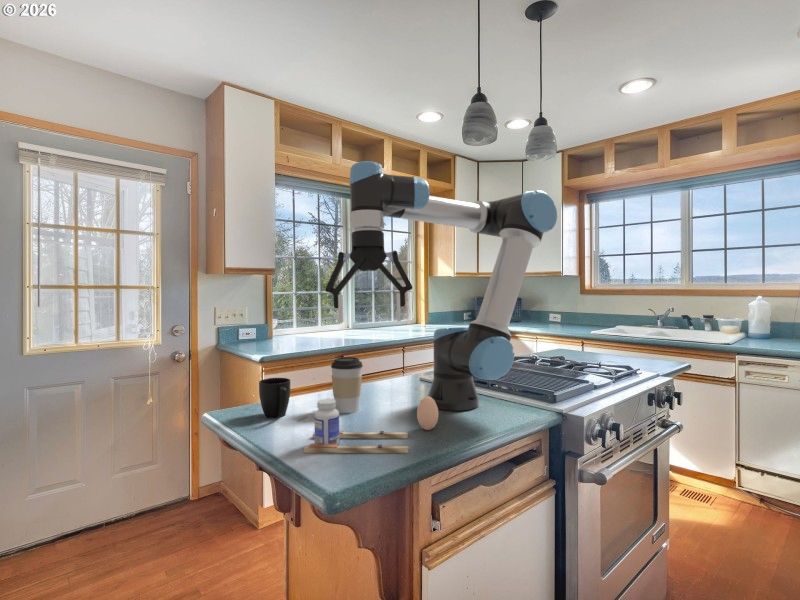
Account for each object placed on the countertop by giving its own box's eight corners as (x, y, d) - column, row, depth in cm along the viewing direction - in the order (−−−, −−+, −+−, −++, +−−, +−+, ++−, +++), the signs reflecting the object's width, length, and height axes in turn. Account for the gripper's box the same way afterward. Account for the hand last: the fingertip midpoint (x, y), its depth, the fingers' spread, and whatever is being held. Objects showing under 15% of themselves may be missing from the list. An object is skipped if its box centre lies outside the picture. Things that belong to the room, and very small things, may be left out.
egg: (412, 428, 106) (412, 395, 105) (428, 424, 109) (428, 392, 109) (426, 434, 101) (426, 400, 101) (442, 430, 105) (442, 396, 104)
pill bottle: (339, 439, 98) (339, 397, 98) (339, 448, 93) (338, 403, 93) (315, 440, 98) (315, 398, 97) (313, 449, 92) (313, 404, 92)
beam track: (407, 436, 100) (407, 431, 100) (408, 452, 90) (408, 446, 90) (313, 436, 100) (313, 430, 100) (304, 452, 90) (304, 446, 90)
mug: (267, 425, 108) (266, 388, 108) (256, 413, 118) (255, 379, 118) (298, 420, 112) (298, 384, 112) (285, 409, 122) (285, 376, 122)
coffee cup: (324, 412, 120) (324, 358, 119) (341, 404, 128) (340, 354, 128) (353, 415, 116) (353, 361, 116) (368, 407, 125) (368, 356, 124)
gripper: (420, 231, 104) (422, 318, 104) (317, 234, 104) (320, 321, 104) (421, 227, 96) (424, 321, 97) (310, 230, 96) (314, 324, 97)
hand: (370, 321), depth 101 cm, fingers open, 13 cm apart
